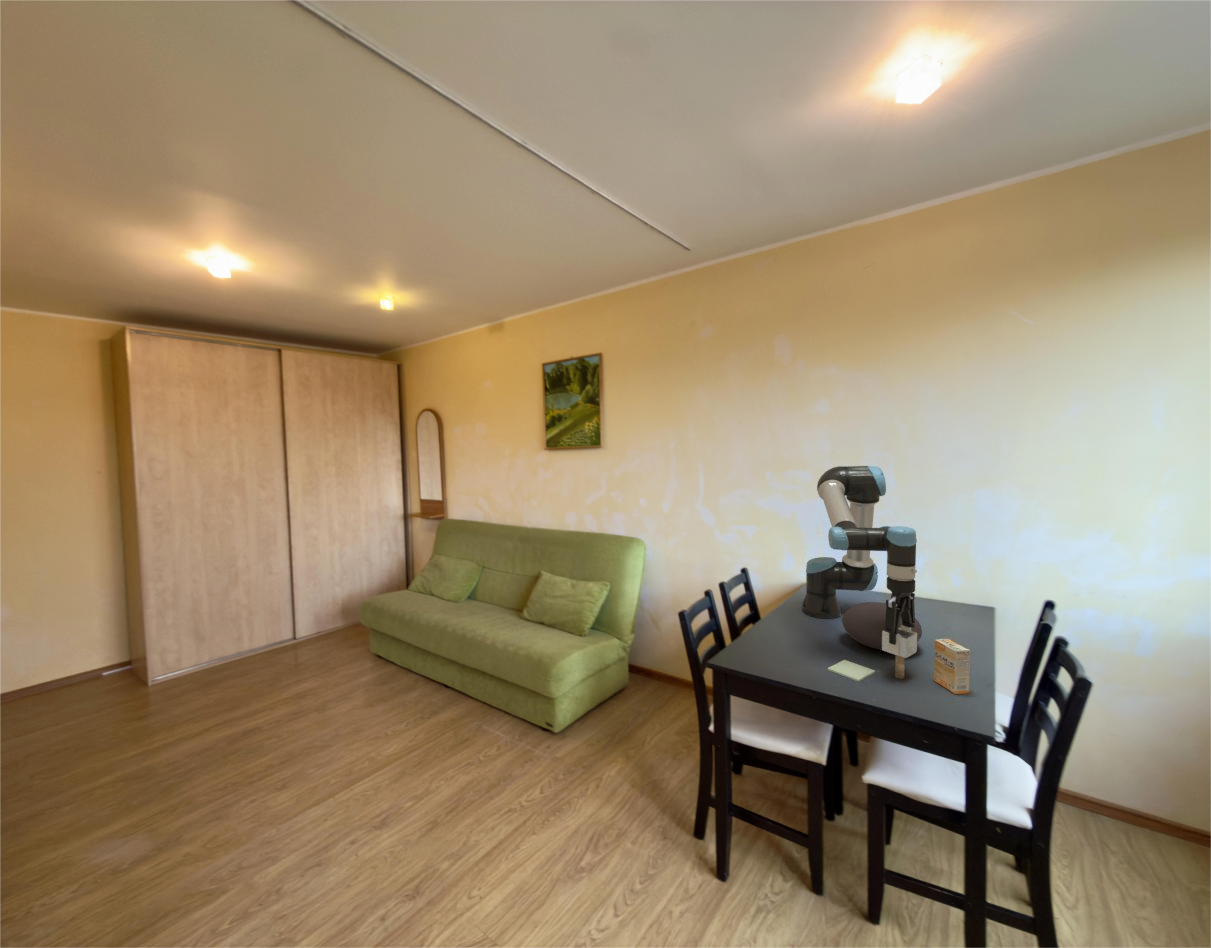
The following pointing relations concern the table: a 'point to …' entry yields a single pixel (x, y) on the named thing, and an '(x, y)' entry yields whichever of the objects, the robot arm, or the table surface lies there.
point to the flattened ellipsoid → (870, 623)
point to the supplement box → (952, 666)
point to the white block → (902, 642)
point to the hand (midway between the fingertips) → (899, 650)
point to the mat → (851, 670)
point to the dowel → (899, 667)
